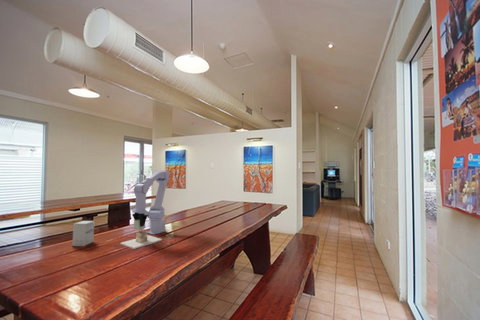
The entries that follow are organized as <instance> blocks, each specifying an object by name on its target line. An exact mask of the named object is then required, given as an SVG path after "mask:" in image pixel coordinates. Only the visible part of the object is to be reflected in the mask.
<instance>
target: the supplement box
mask: <svg viewBox="0 0 480 320" xmlns="http://www.w3.org/2000/svg"><path fill="white" fill-rule="evenodd" d="M94 234H95V220H82V221H78V222H75V223H73V227H72V241H71V242H72V243H71V246H72V247H85V246H87V245H90V244H92V243H93V242H94V237H95V235H94Z"/></svg>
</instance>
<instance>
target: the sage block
mask: <svg viewBox="0 0 480 320" xmlns="http://www.w3.org/2000/svg"><path fill="white" fill-rule="evenodd" d="M133 220H134V219H133ZM145 228H146V223H145V224H144V226H142V227H140V220H139V219H138V220H134V221H133V229H135V230H139V231H140V230H143V229H145Z"/></svg>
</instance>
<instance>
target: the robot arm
mask: <svg viewBox="0 0 480 320" xmlns="http://www.w3.org/2000/svg"><path fill="white" fill-rule="evenodd" d="M169 180H170V172H169V170H167V169H166V170H161V169H160V170H158V169H155V170H154V171H153V174H152V175H151V176H150V177H145V179H144V180H143V181H141V182H140V183H137V184H135V186H134V188H133V192H134V195H135V207H134V209H132V214H131V215H132V218H133V220H138V219H139V220H140V227H142V226H144V224H145V225H146V221H147V219H149V224H150V225H149V231H147V232H148V233H147V234H151V235H157V234H161V233H165V232H166V220H165V218H164V217H165V207H163V201H164V197H165V192H166V187H167V184H168V183H169ZM155 181H156V183H158V188H157V191H156V196H155V198H154V203H153V205H152V206H150V207H149V210H147V209H146V203H147V193H148V192H149V189H150V187H152V186H153V185H154V182H155Z"/></svg>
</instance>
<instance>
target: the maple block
mask: <svg viewBox="0 0 480 320" xmlns="http://www.w3.org/2000/svg"><path fill="white" fill-rule="evenodd" d="M148 232H149V231H144V230H142V231H137V232H136V233H135V239H136V241H137V242H140V243H141V242H144V241H147V235H148V234H149V233H148Z"/></svg>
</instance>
